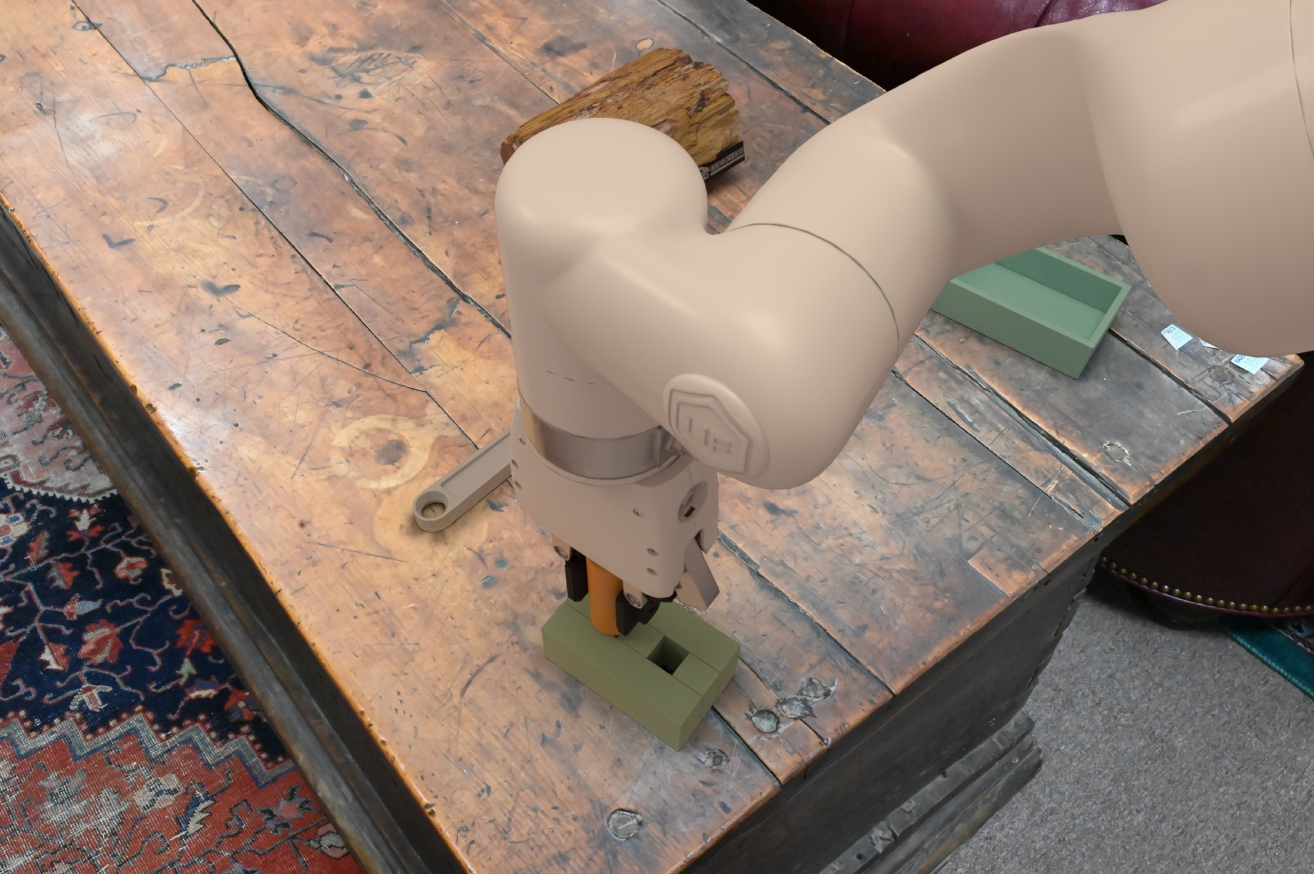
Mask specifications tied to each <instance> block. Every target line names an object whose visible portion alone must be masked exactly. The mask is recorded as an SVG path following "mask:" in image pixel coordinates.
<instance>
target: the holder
mask: <svg viewBox="0 0 1314 874" xmlns="http://www.w3.org/2000/svg"><path fill="white" fill-rule="evenodd" d="M540 631H541V638H542V644H543V651H544V656H545V658H546V659H547V660H549V661H550V662H552V663H553V664H555V665H556V666H557V667H558V668H560V669H561V670H563V672H566V673H567V674H569V675H570V676H571V677H573V678H574V679H575V680H577V681H579V682H580V683H581V684H582V685H584V686H586V687H587V688H588V689H590V690H591V691H592V692H594V693H595V694H597V695H598V696H599V697H601V698H602V699H603V700H605V701H606V702H608V703H609V704H611V705H612V706H613V707H615V709H618V710H619V711H620V712H621V713H623V714H625V715H626V716H628V717H629V718H630V719H632V720H633V721H635V722H636V723H637V724H639V725H640V726H641V727H643V728H644V729H646V730H647V731H648V732H650V733H651V734H653V735H654V736H656V737H657V738H659V739H660V740H661V741H662V742H664V743H665V744H667V745H668V746H669V747H671V748H672V749H674V750H675V751H676V752H680V750H681V749H682V748H683V746H684V745H685V744H686V743H687V741H688V739H689V738H691V735H692V734H693V733H694V731H695V730H696V729H697V727H698V726H699V724H700V723H701V722H702V720H703V719H704V717H705V716H706V714H707V713H708V712H709V710H710V709H711V708H712V706H713V705H714V704H715V702H716V701H717V700H718V699H719V697H720V696H721V694H722V692H723V691H724V690H725V688H727V686H728V685H729V683H730V682H731V680H732V679H733V678H734V676H735V675H736V672H737V669H738V664H739V658H740V652H741V648H742V644H741V643H739V642H737V641H736V640H735V639H733V638H732V637H730V636H728V635H727V634H726V633H723V632H722V631H721V630H719V629H717V627H715V626H714V625H712V624H710V623H709V622H707V621H706V620H704V619H703V618H701V617H699V616H698V615H696V614H695V613H693V612H692V611H690V610H688V609H687V608H685V607H684V606H683V605H681V604H680V603H678V602H676V601H675V600H673V602H672V603H666V602H660V606H659V608H658V610H657V612H656V613H655V615H654V616H653V617H652V619H651V620H650V621H649V622H648V623H647V624H646V625H643V624H642V623H640V622H638V623H637V624H636V626H635V627H634V628H633V629H632V631H631V632H630V633H629V634H628V635H627V636H624V635H623V634H620V635H618V637H617V638H616V637H615V636H613V635H607V634H604V633H601V632H600V631H598V630H597V629H596V628H595V627H594V625H593V624H592V622H591V619H590V608H589V593H588V594H587V595H586V596H585V597H584V598H583V599H582V601H580V602H578V601H577V602H574V601H573V600H571V599H570V598H568V597H567V598H565V600H564V602H562V604H560V606H558V608H557V609H556V610H555V611H554V613H553V614H552V615H551V616H550V617H549V618H548V620H547V621H546V622H544V624H543V625H542V626H541V627H540ZM663 665H665V667H667V668H669V669H670V670H672V671H673V674H670V673H669V672H667V671H666V670H664V669H663V668H661V667H662V666H663Z"/></svg>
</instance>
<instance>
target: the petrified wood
mask: <svg viewBox="0 0 1314 874" xmlns="http://www.w3.org/2000/svg"><path fill="white" fill-rule="evenodd" d="M716 65H717V64H712V63H705V62H704V61H703V60H696V61H693V59H692V57H691V56H690V54H689V53H685V52H684V49H683V48H669V47H657V48H656V49H653V50H651V51H648V52H647V53H645V54H643V55H642V56H640V57H638V58H636V59H634V60H633V61H631V62H627V63H625V64H623V65H621V66H619V67H618V68H616V69H614V70H612V71H610V72H609V73H606V74H605V75H603V76H602V77H600V78H598V79H597V80H595V81H594V82H592V83H591V84H589V85H588V86H586V87H585V88H583V89H582V90H580V91H577V92H576V93H575V94H574V95H573V96H571V97H568V98H567V99H565V100H564V101H562V102H560V103H559V104H557V105H555V106H553V107H551V108H549V109H546V110H545V111H543V112H541V113H539V114H537V115H535V116H533V117H532V118H530V119H529V120H527V121H526V122H524V123H523V124H521V125H519V126H518V129H517V130H516V131H515V132H513V133H511V134H509V135H508V136H507V137H506V138H505V139H503V141H502V142H501V143H500V150H499V153H500V157H501V160H502V165H503V167H504V166H505V164H506V163H507V161H508V160H509V159H510V158H511V156H512V155H513V154H514V152H515V151H516V150H517V149H518V148H519V147H520V146H521V145H522V144H523V143H525V142H526V141H527V140H528V139H530V138H531V137H533V136H535V135H536V134H538V133H540V132H542V131H544V130H546V129H549V128H551V127H553V126H556V125H559V124H562V123H566V122H569V121H574V120H579V119H586V118H615V119H623V120H628V121H632V122H637V123H640V124H643V125H645V126H648V127H651V128H654V129H656V130H658V131H660V132H662V133H664V134H666V135H668V136H669V137H671V138H672V139H673V140H675V141H676V142H678V143H679V144H680V145H681V146H682V147H683V148H684V149H685V150H686V151H687V153H688V154H689V155H690V156H691V157H692V159H693V160H694V162H695V163H696V165H697V166H698V168H699V170H700V173H701V175H702V178H703V180H704V183H705V185H706V184H708V183H710V182H711V181H713V180H715V179H716V178H718V177H720V176H721V175H723V174H724V173H726V172H728V171H729V170H732V169H733V168H734V167H735V166H737V165H739V164H740V163H743V162H745V161H746V157H745V156H746V153H745V145H744V144H745V143H744V139H742V140H740V139H739V135H740V132H741V131H740V130H741V116H740V110H739V107H738V106H737V105H736V100H735V99H734V98H733V96H732V95H731V93H730V90H729V82H728V81H727V79H726V78H725V77H724V76H723V71H719V70H718V68H717V66H716Z"/></svg>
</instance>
